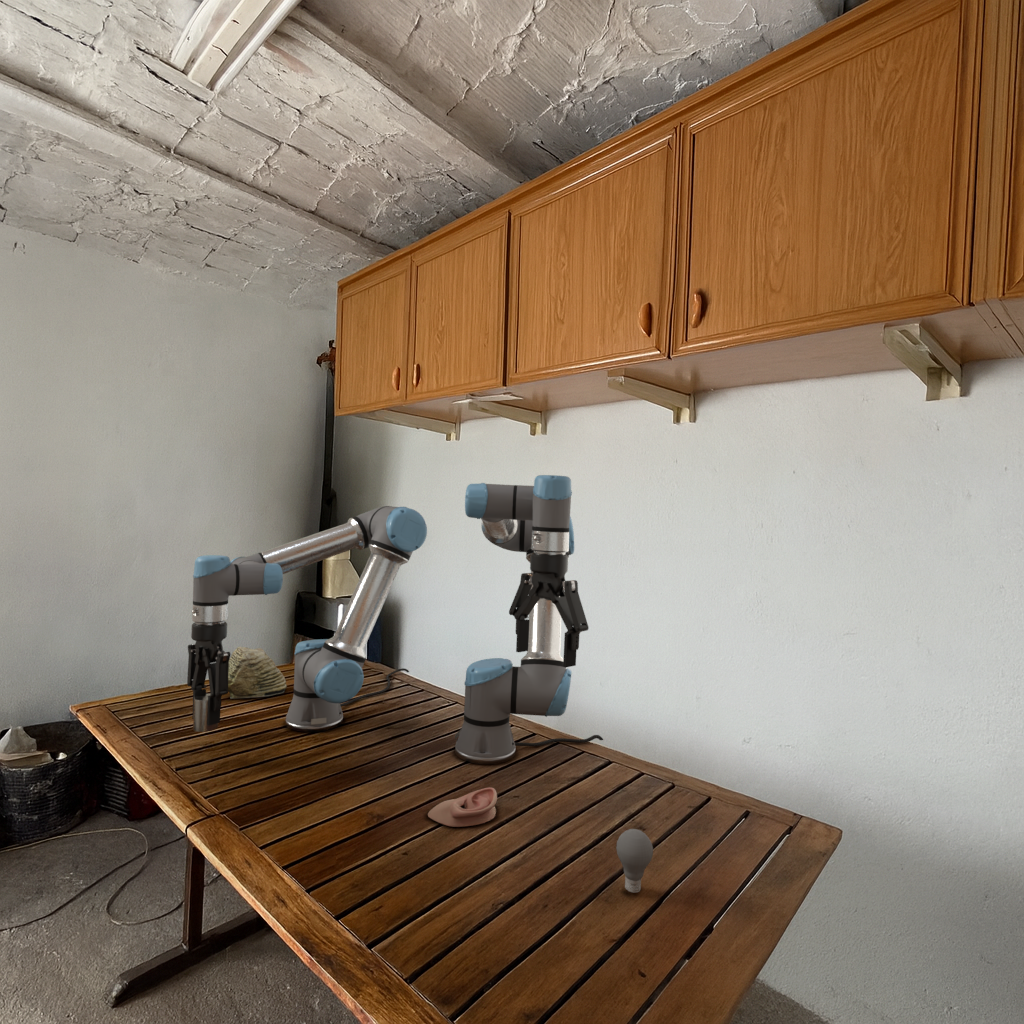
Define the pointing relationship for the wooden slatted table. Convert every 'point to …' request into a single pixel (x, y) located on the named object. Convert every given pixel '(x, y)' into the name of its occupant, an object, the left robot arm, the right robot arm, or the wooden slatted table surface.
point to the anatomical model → (466, 809)
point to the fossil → (253, 674)
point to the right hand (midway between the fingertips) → (544, 658)
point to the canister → (201, 714)
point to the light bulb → (634, 857)
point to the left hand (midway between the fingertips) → (206, 720)
